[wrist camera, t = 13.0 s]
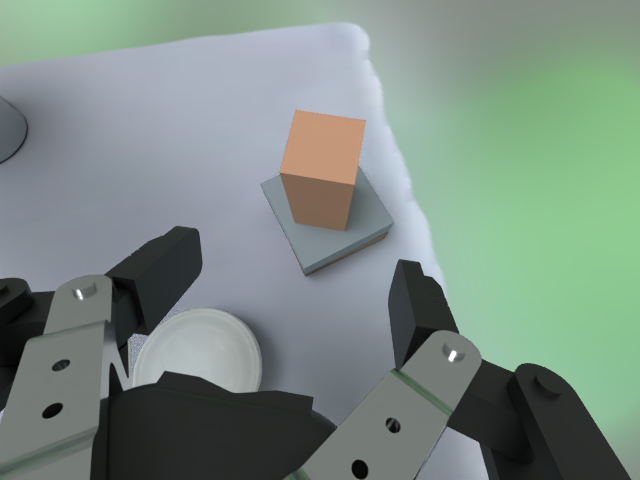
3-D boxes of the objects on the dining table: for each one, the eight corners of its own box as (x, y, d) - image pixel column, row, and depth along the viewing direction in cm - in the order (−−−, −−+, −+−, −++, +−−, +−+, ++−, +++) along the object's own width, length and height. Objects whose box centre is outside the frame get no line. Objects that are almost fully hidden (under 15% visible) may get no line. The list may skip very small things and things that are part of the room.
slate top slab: (265, 196, 33) (260, 183, 30) (343, 159, 34) (345, 144, 31) (305, 274, 31) (303, 268, 28) (387, 231, 32) (394, 222, 29)
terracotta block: (294, 222, 29) (279, 172, 19) (304, 177, 30) (295, 109, 21) (344, 231, 29) (354, 184, 19) (352, 185, 30) (365, 120, 20)
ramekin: (141, 393, 30) (103, 407, 25) (198, 292, 33) (175, 286, 28) (237, 448, 28) (218, 474, 23) (288, 337, 31) (281, 339, 26)
